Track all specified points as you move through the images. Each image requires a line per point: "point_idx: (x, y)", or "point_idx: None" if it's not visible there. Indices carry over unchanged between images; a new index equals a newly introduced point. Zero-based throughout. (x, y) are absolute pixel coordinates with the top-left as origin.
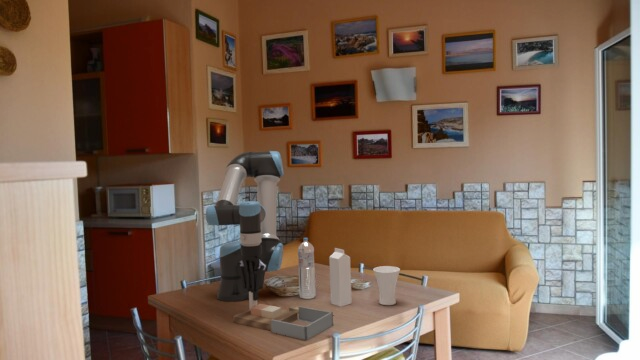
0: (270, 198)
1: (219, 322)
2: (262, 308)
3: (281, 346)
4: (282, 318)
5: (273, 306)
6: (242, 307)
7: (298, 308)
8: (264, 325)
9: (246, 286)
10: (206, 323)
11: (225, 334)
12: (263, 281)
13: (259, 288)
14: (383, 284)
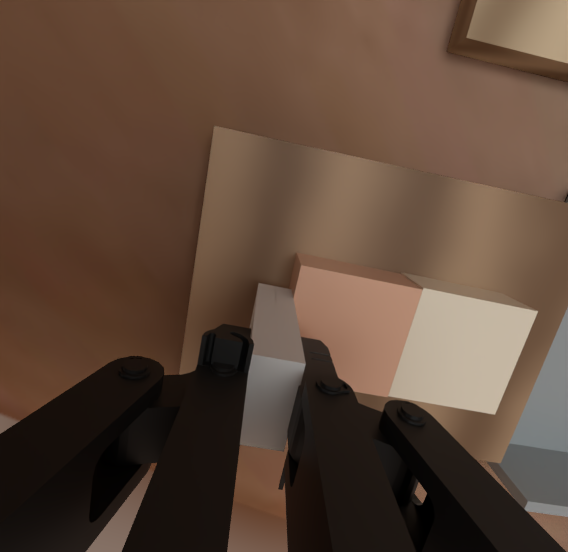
0: None
1: (79, 376)
2: (385, 371)
3: (558, 528)
4: (530, 358)
5: (459, 302)
6: (2, 42)
7: (556, 34)
8: None
9: (153, 458)
10: (16, 411)
11: (234, 499)
12: (535, 529)
13: (415, 485)
14: None
